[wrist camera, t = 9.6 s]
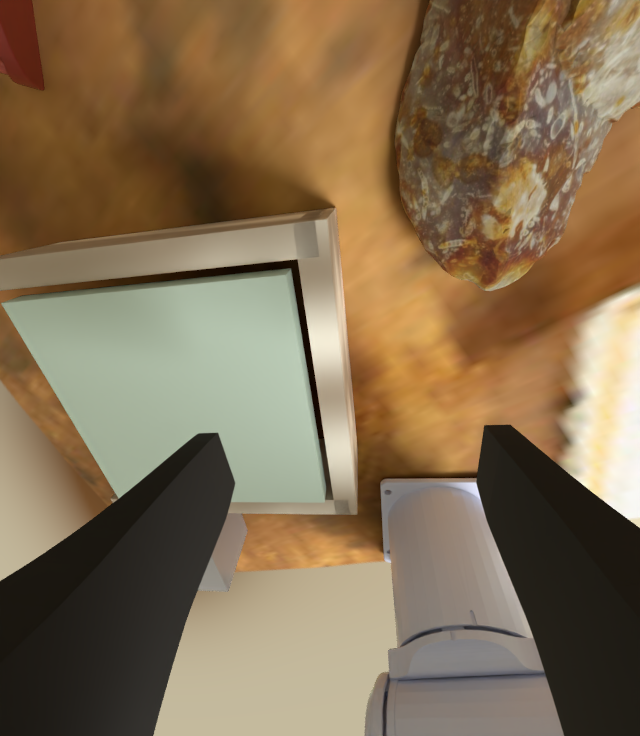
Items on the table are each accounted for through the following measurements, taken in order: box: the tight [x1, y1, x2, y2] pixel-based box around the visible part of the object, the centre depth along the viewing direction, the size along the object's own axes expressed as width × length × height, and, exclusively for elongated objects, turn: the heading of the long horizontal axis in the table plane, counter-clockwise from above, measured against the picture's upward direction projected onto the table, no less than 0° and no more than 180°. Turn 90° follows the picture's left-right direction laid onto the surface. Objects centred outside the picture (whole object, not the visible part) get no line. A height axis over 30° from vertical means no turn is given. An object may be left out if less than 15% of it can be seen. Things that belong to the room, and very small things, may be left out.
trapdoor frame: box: [0, 207, 358, 515], centre depth 18 cm, size 15×15×5 cm
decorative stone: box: [395, 0, 640, 291], centre depth 11 cm, size 10×4×15 cm
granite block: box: [198, 513, 248, 592], centre depth 26 cm, size 5×5×5 cm
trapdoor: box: [1, 268, 326, 503], centre depth 16 cm, size 12×12×1 cm
